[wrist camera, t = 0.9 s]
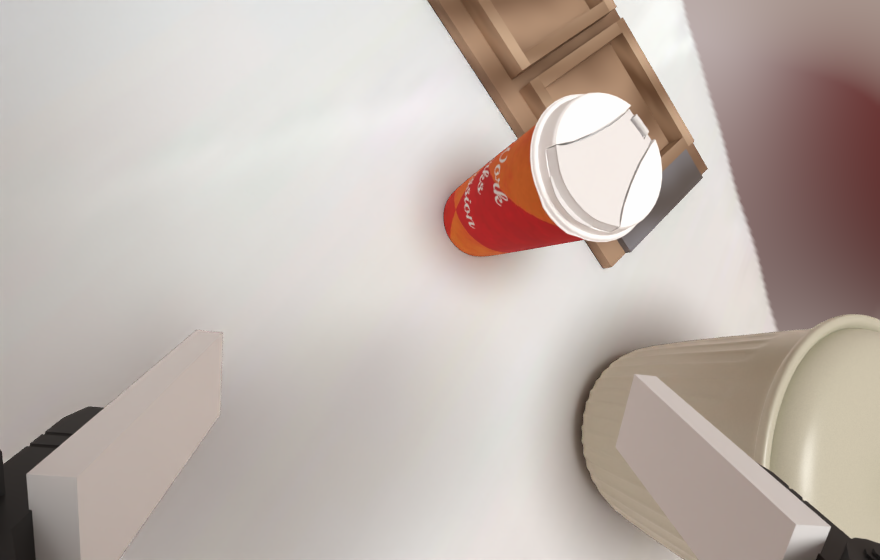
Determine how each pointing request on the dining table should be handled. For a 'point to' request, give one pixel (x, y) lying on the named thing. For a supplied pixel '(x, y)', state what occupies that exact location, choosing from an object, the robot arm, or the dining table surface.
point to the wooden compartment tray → (573, 80)
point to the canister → (760, 417)
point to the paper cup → (560, 181)
